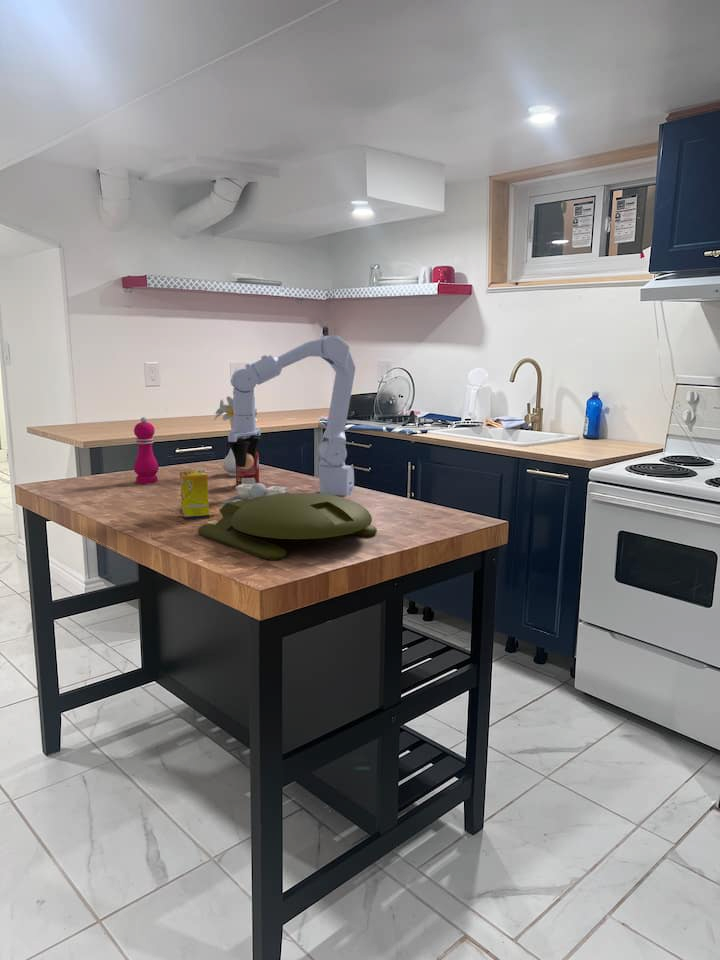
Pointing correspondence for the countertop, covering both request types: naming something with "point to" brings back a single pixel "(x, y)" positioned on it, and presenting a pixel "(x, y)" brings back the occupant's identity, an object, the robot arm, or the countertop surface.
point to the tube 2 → (275, 490)
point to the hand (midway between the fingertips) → (245, 465)
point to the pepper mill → (145, 453)
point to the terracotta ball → (248, 462)
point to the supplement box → (194, 494)
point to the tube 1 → (244, 491)
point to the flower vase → (230, 459)
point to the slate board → (234, 499)
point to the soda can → (248, 473)
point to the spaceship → (287, 521)
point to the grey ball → (258, 490)
